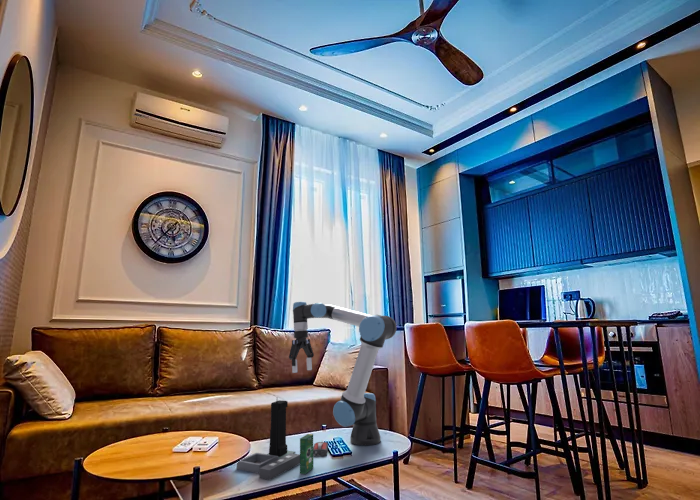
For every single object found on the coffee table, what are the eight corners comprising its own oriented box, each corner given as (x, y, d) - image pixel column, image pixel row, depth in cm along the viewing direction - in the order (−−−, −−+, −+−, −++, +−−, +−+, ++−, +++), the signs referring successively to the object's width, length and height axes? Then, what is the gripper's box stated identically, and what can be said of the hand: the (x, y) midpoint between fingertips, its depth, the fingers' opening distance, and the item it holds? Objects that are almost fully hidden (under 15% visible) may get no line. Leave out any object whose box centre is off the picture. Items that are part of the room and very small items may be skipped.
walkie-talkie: (310, 448, 185) (305, 463, 165) (310, 438, 186) (305, 452, 166) (328, 448, 185) (326, 462, 165) (328, 438, 186) (326, 451, 166)
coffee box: (307, 467, 160) (307, 433, 162) (314, 467, 159) (313, 433, 161) (299, 474, 152) (299, 438, 155) (305, 474, 151) (305, 438, 154)
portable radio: (277, 450, 180) (278, 394, 185) (288, 452, 178) (289, 394, 183) (267, 456, 173) (268, 397, 178) (279, 457, 171) (280, 397, 176)
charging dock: (300, 463, 164) (300, 453, 165) (269, 480, 147) (269, 469, 147) (262, 457, 173) (262, 448, 174) (229, 472, 156) (229, 462, 157)
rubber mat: (295, 452, 178) (295, 451, 178) (278, 460, 168) (278, 459, 168) (278, 450, 183) (278, 449, 183) (261, 457, 172) (261, 456, 172)
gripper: (307, 330, 222) (309, 369, 217) (281, 331, 201) (282, 373, 196) (318, 329, 219) (320, 368, 214) (292, 330, 197) (294, 373, 192)
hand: (302, 371), depth 205 cm, fingers open, 13 cm apart
